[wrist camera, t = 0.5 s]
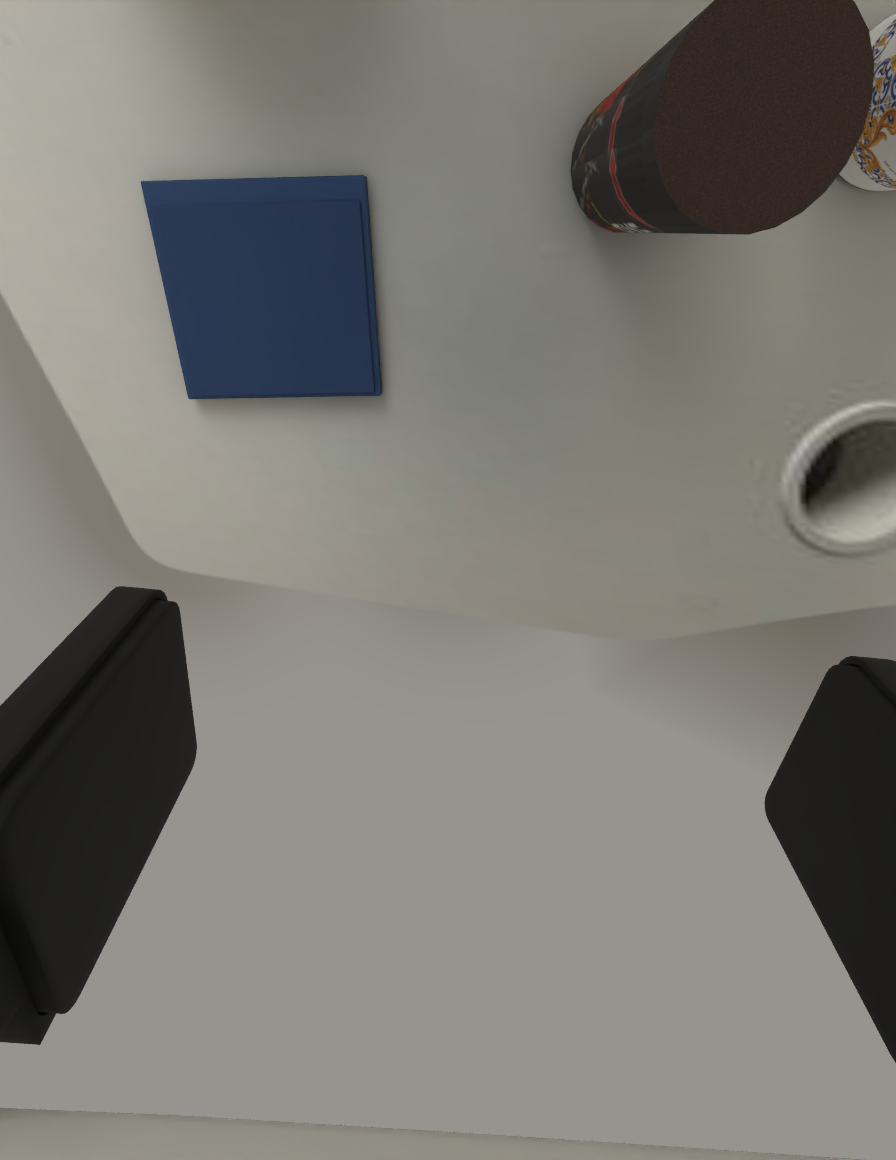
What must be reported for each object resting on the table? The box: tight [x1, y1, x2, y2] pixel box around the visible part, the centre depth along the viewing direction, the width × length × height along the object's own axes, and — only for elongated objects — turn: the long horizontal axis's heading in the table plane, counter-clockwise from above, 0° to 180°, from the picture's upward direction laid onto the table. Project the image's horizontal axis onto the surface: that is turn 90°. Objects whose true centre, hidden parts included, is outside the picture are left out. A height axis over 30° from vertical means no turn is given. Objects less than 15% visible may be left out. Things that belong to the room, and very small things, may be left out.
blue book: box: [141, 175, 382, 399], centre depth 33 cm, size 10×11×1 cm
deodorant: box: [571, 0, 875, 234], centre depth 24 cm, size 6×6×15 cm
